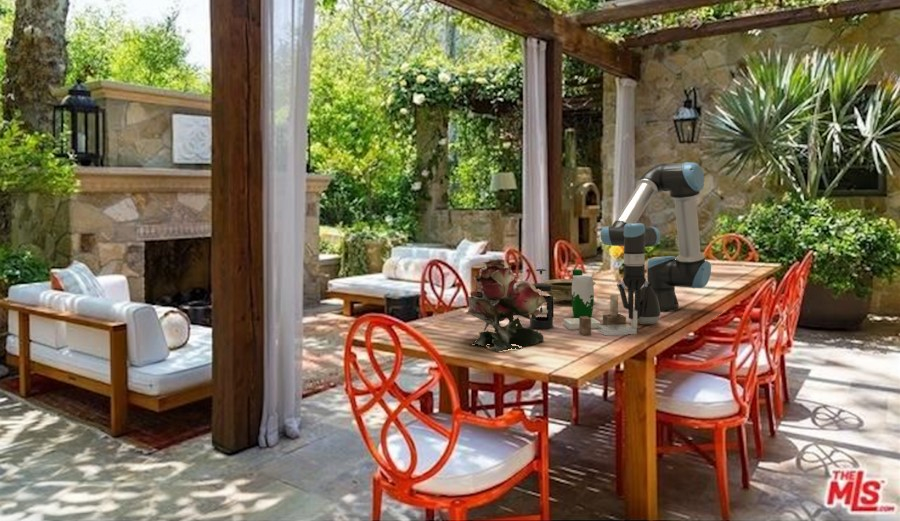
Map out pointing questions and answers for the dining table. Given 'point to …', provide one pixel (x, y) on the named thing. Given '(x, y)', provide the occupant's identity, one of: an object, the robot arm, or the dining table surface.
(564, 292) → the ceramic bowl
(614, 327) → the plate
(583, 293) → the milk carton
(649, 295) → the pump dispenser
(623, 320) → the socket block
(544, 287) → the french press
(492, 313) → the rose bouquet
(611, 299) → the dowel
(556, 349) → the dining table surface
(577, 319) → the tray
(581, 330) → the wooden block
